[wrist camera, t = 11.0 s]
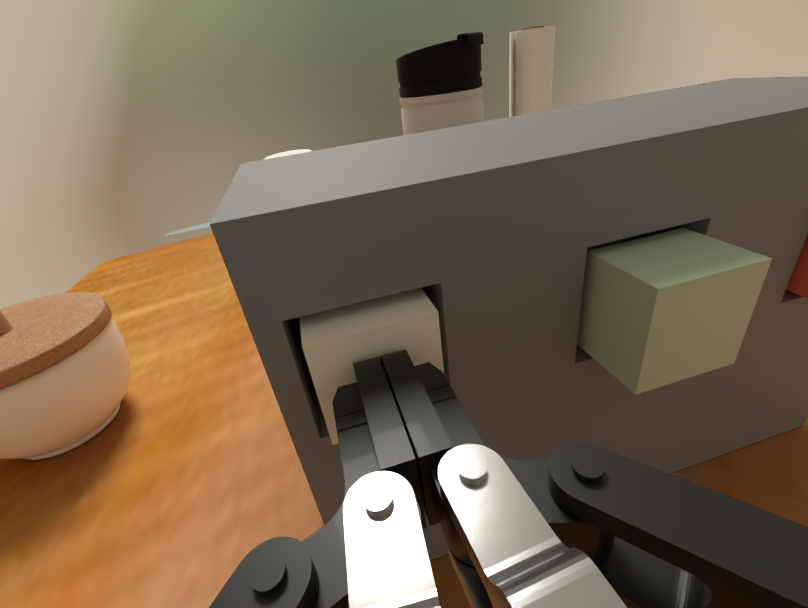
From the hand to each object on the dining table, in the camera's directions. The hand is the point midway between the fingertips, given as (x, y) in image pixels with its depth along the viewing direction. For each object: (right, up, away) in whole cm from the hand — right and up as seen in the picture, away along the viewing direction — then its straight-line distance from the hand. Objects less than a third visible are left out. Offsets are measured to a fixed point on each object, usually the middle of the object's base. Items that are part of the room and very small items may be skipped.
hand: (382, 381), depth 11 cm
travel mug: (+6, +4, +28) cm, 28 cm away
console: (+9, -5, +11) cm, 15 cm away
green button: (+9, 0, +2) cm, 9 cm away
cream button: (0, -1, +2) cm, 2 cm away
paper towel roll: (+21, +22, +56) cm, 64 cm away
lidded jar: (-23, -6, +17) cm, 29 cm away
